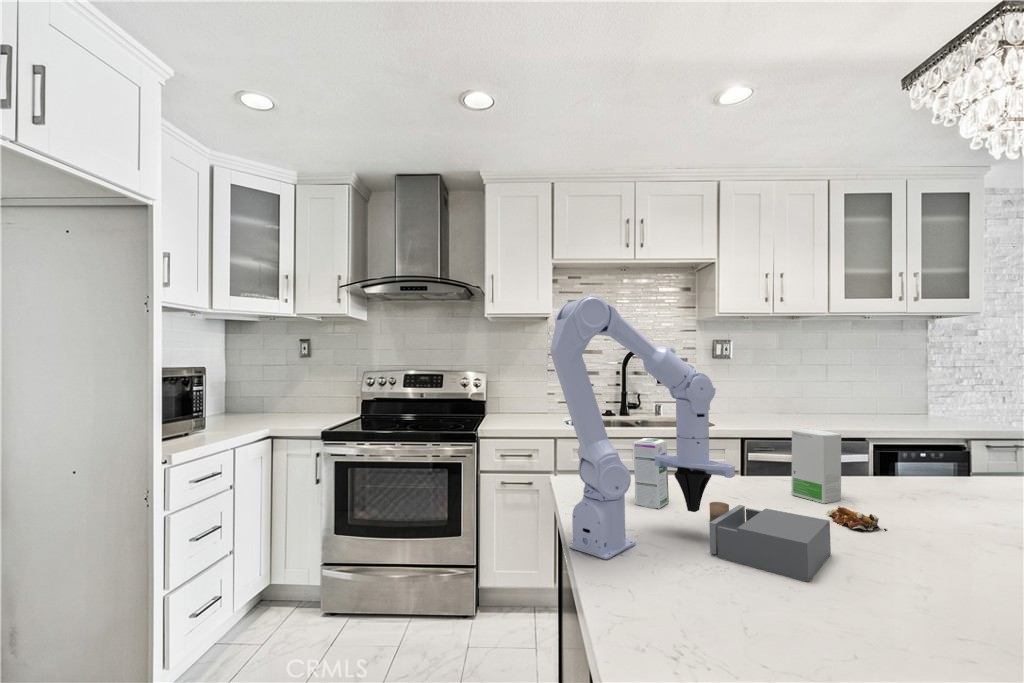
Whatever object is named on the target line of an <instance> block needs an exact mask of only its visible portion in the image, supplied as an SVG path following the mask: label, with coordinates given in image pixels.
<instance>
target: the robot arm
mask: <svg viewBox="0 0 1024 683" xmlns="http://www.w3.org/2000/svg"><path fill="white" fill-rule="evenodd" d="M554 324H555V326H554V331H553V334H552V339H551V345H550V356H551V358H552V362H553V365H554V368H555V372H556V374H557V375H556V376H557V378H558V381H559V383H560V387H561V390H562V393H563V396H564V400H565V402H566V406H567V409H568V412H569V416H570V419H571V421H572V425H573V429H574V431H575V435H576V437H577V441H578V444H579V447H578V449H577V453H576V454H577V456H578V458H579V461H578V462H579V464H578V475H579V478H580V479H581V481H582V482H583V483H584V487H583V494H582V499H581V500H580V501H579V502H578V503H577V504H575V505H574V507H573V510H572V516H571V517H572V543H569V544H568V547H569V549H572V550H577V551H579V552H582V553H585V554H588V555H591V556H595V557H598V558H601V559H602V560H603V559H604V560H609V559H610V558H612V557H614V556H616V555H617V554H620V553H621V552H624V551H625V550H628V549H629V548H631V547H633V546H635V545H636V541H635V540H633V539H629V538H626V505H625V504H626V500H625V499H626V498H625V497H626V496H625V494H626V493H627V492H628V490H629V489H630V486H631V482H632V476H631V473H630V470H629V468H628V467H627V466H626V465H625V464H624V463H623V462H622V460H621V458H620V455H619V452H618V450H617V449H616V448H615V445H613V444H612V443H611V441H610V440H609V436H608V432H607V430H606V426H605V424H604V421H603V418H602V415H601V411H600V408H599V405H598V402H597V398H596V395H595V392H594V389H593V385H592V383H591V379H590V377H589V374H588V370H587V367H586V363H585V361H584V357H583V353H584V352H585V350H586V349H587V347H588V345H589V343H590V342H591V340H592V339H593V338H594V337H595V336H605V337H610V338H612V339H613V340H614V341H616V342H617V343H618V344H620V345H621V346H622V347H624V349H626V350H628V351H629V352H631V353H632V354H633V355H635V356H636V357H638V358H639V359H641V360H642V362H643V370H644V371H645V372H647V374H649V375H650V376H652V377H653V378H654V379H656V381H658V382H659V383H660V384H662V385H663V386H664V387H666V388H667V389H668V392H669V394H670V396H671V397H672V398H673V399H675V414H676V415H675V419H676V420H675V422H676V424H675V427H676V428H675V429H676V435H675V436H676V439H675V440H676V455H668V454H667V455H657V456H655V466H665V467H667V468H672V469H677V470H676V471H675V472H673V473H674V474H673V475H674V478H675V479H676V481H677V483H678V485H679V487H680V489H681V492H682V494H683V498H684V502H685V506H686V510H687V511H688V512H690V513H691V512H692V513H697V512H699V511H700V508H701V507H700V506H701V502H702V499H703V495H704V493H705V489H706V487H707V485H708V483H709V482H710V480H711V478H712V475H715V476H722V477H724V478H729V479H731V478H735V476H736V475H735V474H736V472H735V471H736V467H735V465H733V464H728V463H724V462H718V461H716V460H715V461H714V460H710V431H709V430H710V426H709V425H710V422H709V420H710V419H709V418H710V417H709V415H710V414H709V411H710V410H711V402H712V401H713V399H714V397H715V395H716V390H717V388H716V387H715V386H714V385H713V383H712V380H711V378H710V377H709V376H708V375H706V374H705V373H702V372H696V371H695V369H694V368H695V367H694V366H693V365H692V364H690V363H687V362H686V361H684V360H683V359H681V358H680V357H679V356H678V355H676V352H677V350H675V349H674V348H673V347H667V346H663V345H662V346H655V345H654V344H653V343H652V342H651V341H650V340H649V339H647V338H646V337H645V336H644V335H643V334H642V333H641V332H640V331H638V330H637V329H636V327H634V326H633V324H631V323H630V322H629V321H627V320H626V319H625V318H624V317H623V316H622V315H621V313H619V312H618V310H617V308H616V307H614V306H613V305H611V304H607V302H606V301H605V300H604V299H603V298H601V297H600V296H598V295H586V296H584V297H582V298H580V299H577V300H573V301H569V302H566V303H565V304H564V305H563V306H562V308H560V310H559V311H558V313H557V315H556V316H555V318H554Z"/></svg>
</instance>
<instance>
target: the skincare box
mask: <svg viewBox="0 0 1024 683" xmlns="http://www.w3.org/2000/svg"><path fill="white" fill-rule="evenodd" d="M791 495H792V496H794V497H795V496H796V497H798V498H803V499H806V500H808V501H809V500H810V501H812V500H813V501H812V502H816V503H819V502H820V503H819V504H822V503H824V504H823V505H825V503H827V504H831V503H835V501H836V502H840V501H839V500H841V501H842V434H841V433H837V432H831V431H826V430H821V429H814V428H801V429H800V428H799V429H791ZM830 502H831V503H830Z"/></svg>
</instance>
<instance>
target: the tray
mask: <svg viewBox="0 0 1024 683" xmlns="http://www.w3.org/2000/svg"><path fill="white" fill-rule="evenodd" d="M745 522H746V507H745V505H741V504H739V505H736V506H734V507H733V508H731V509H729V511H728V512H726V513H725V514H723V515H721V516H720V517H718V518H716V519H715V520H713V521H711V522H710V521H709V525H708V526H709V551H710V552H709V553H710V554H714V555H718V536H717V527H718V526H721V527H726V528H730V529H735V530H737V528H738V527H739V526H741V525H742V524H744V523H745Z"/></svg>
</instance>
